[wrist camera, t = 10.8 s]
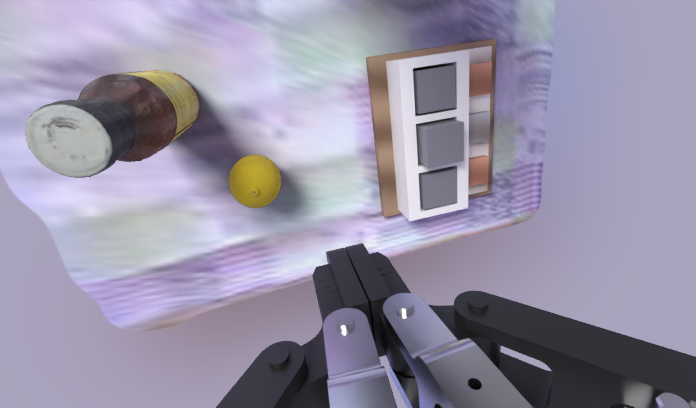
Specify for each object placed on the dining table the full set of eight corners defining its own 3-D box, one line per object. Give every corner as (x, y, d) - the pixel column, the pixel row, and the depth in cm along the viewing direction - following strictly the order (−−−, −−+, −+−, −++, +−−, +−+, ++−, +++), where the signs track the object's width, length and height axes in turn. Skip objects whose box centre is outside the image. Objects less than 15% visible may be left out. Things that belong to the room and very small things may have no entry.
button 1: (402, 71, 39) (416, 70, 35) (437, 65, 39) (455, 65, 36) (405, 110, 40) (418, 113, 37) (438, 104, 41) (455, 107, 37)
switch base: (366, 57, 38) (371, 56, 36) (491, 39, 41) (503, 37, 39) (382, 214, 46) (387, 221, 44) (486, 191, 49) (496, 196, 47)
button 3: (408, 167, 43) (422, 176, 39) (440, 161, 44) (456, 168, 40) (411, 198, 45) (423, 209, 41) (441, 192, 45) (456, 202, 42)
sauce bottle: (155, 57, 34) (28, 38, 16) (213, 95, 36) (161, 116, 18) (124, 111, 35) (-26, 152, 17) (182, 145, 37) (105, 212, 19)
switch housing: (385, 61, 38) (398, 60, 34) (450, 51, 39) (469, 49, 36) (398, 209, 45) (409, 221, 42) (452, 197, 47) (468, 207, 43)
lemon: (284, 154, 40) (288, 171, 33) (274, 196, 42) (276, 222, 35) (236, 143, 39) (229, 159, 31) (228, 188, 40) (220, 213, 33)
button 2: (411, 123, 39) (426, 128, 36) (445, 117, 40) (463, 122, 36) (413, 159, 41) (427, 168, 37) (446, 153, 42) (463, 160, 38)
